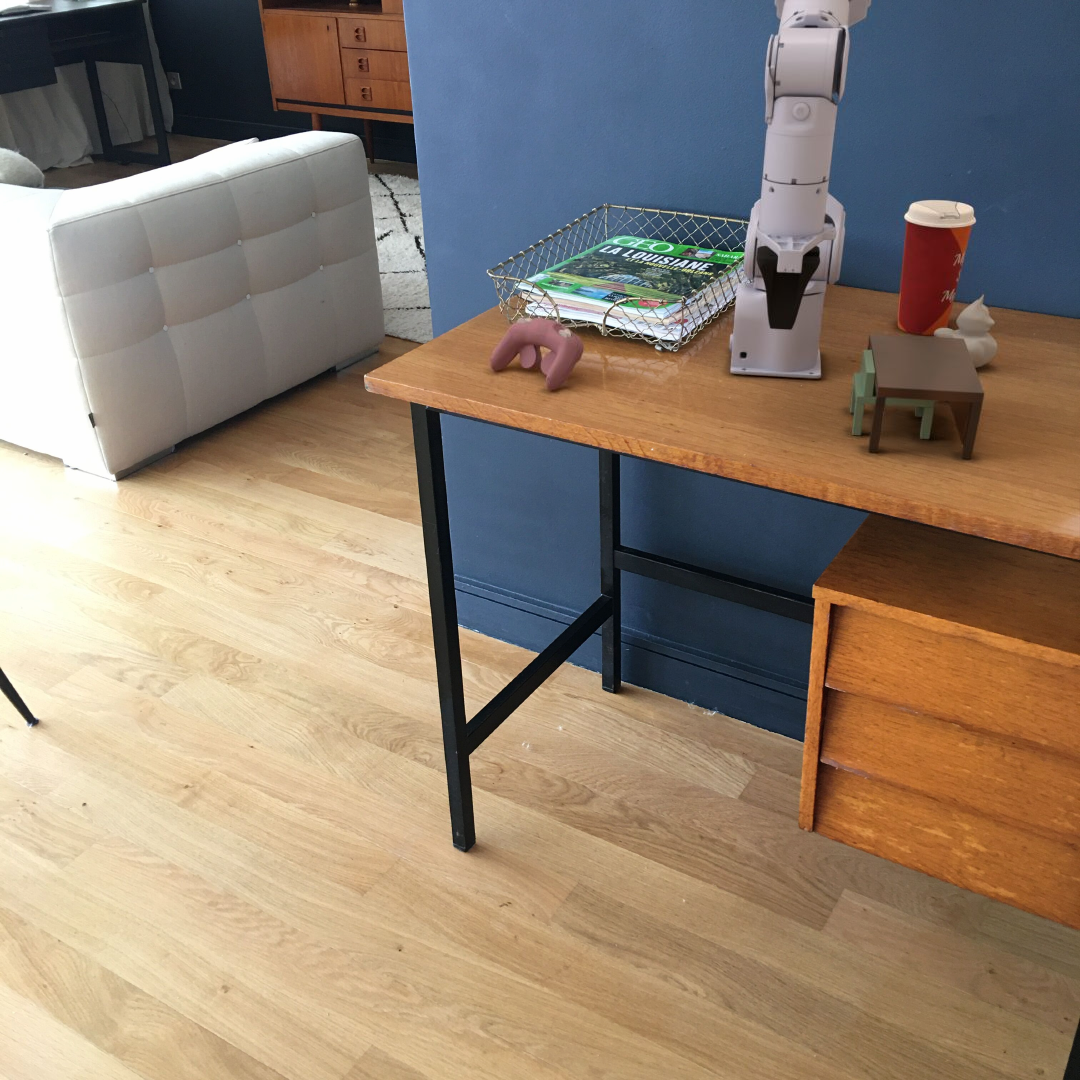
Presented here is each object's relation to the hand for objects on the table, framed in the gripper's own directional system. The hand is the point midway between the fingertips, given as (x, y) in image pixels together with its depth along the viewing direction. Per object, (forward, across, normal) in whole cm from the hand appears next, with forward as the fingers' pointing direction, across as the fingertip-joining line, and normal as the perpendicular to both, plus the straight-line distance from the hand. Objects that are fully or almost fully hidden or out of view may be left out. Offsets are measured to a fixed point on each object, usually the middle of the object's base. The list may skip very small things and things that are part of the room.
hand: (780, 327), depth 103 cm
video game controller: (+10, +8, +25) cm, 28 cm away
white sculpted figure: (+10, +18, -20) cm, 28 cm away
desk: (+9, +1, -13) cm, 16 cm away
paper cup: (+10, +30, -17) cm, 36 cm away
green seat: (+9, 0, -11) cm, 15 cm away
